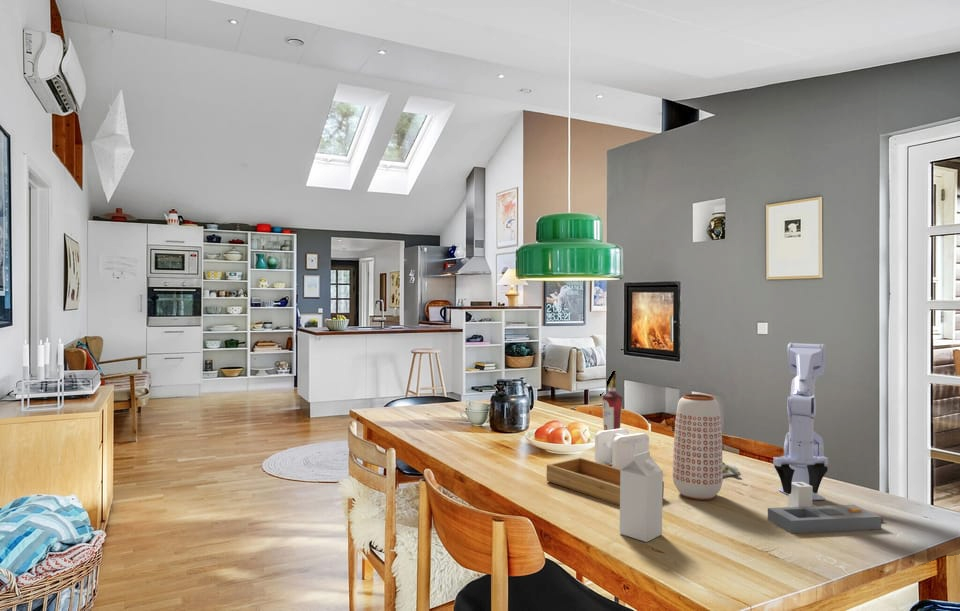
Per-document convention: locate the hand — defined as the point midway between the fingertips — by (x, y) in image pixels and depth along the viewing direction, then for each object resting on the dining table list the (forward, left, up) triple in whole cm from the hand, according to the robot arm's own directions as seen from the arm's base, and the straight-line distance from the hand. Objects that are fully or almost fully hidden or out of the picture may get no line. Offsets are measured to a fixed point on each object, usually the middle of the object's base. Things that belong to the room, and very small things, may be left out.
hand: (800, 492), depth 160 cm
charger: (0, 0, -5) cm, 5 cm away
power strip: (+10, +1, -5) cm, 11 cm away
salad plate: (-40, -4, -5) cm, 41 cm away
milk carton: (+11, -49, -5) cm, 50 cm away
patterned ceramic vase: (-15, -21, -5) cm, 26 cm away
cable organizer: (-46, -31, -5) cm, 56 cm away
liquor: (-74, -24, -5) cm, 78 cm away
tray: (-23, -46, -6) cm, 52 cm away
